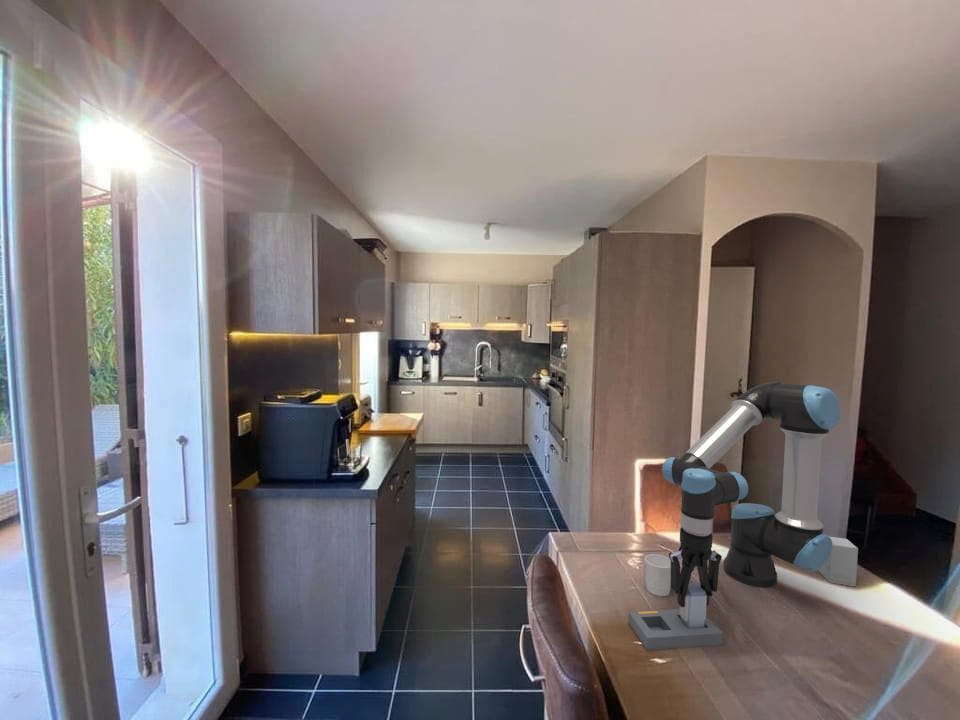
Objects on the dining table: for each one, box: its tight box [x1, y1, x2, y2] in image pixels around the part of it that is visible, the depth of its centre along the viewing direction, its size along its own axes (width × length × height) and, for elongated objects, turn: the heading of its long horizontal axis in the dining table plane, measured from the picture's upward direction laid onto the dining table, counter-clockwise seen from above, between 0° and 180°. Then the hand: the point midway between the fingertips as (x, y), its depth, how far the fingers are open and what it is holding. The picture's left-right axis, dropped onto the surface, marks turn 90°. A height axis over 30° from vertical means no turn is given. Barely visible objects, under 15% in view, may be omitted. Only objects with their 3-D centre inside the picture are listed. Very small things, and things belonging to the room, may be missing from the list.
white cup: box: [644, 553, 671, 597], centre depth 130 cm, size 8×8×10 cm
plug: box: [681, 582, 706, 629], centre depth 111 cm, size 4×4×12 cm
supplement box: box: [818, 536, 859, 587], centre depth 139 cm, size 7×7×13 cm
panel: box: [628, 608, 724, 651], centre depth 111 cm, size 20×10×4 cm, turn 96°
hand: (692, 616), depth 111 cm, fingers open, 4 cm apart
